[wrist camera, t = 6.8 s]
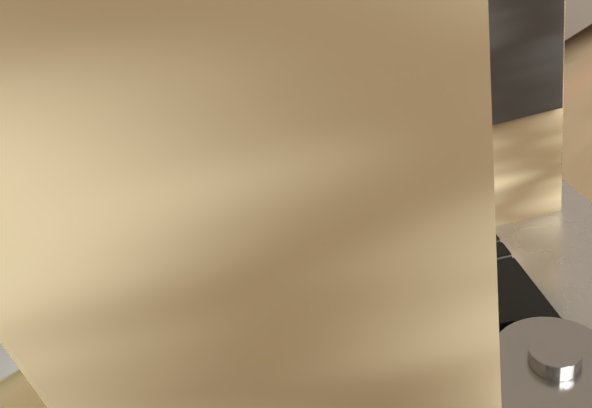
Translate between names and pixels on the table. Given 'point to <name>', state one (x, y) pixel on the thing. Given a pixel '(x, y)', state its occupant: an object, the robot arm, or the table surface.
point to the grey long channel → (557, 254)
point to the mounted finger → (527, 106)
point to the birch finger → (249, 203)
